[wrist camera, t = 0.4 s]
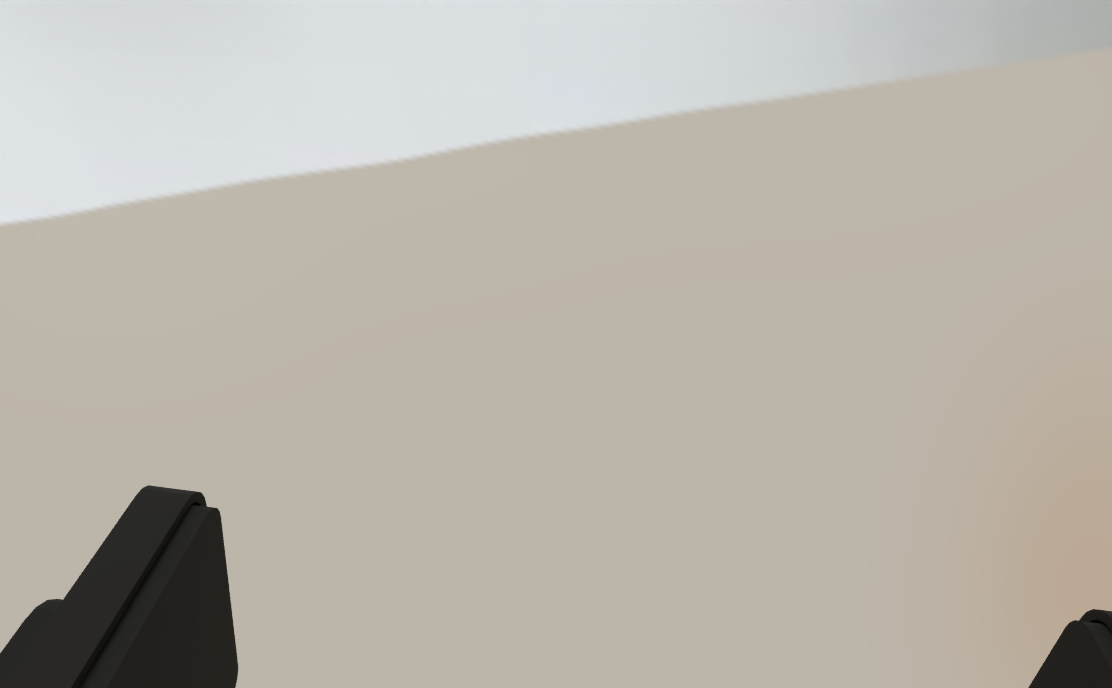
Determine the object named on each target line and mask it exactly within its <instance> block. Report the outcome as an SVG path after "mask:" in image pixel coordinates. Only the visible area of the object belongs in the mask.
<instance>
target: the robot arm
mask: <svg viewBox="0 0 1112 688" xmlns="http://www.w3.org/2000/svg"><path fill="white" fill-rule="evenodd" d="M237 675H238V662H237V653H236V644H235V635H234V627H233V618H232V610H231V601H230V592H229V584H228V575H227V566H226V557H225V550H224V540H223V532H222V523H221V516H220V512H219V510H218V509H217V508H212V507H207V506H206V501H205V497H204V496H203V495H202V493H201V492H194V491H186V490H179V489H171V488H163V487H156V486H146V487H144V488H142V489H141V490H140V492H139V493H138V494H137V495H136V496H135V498H134V499H133V501H132V502H131V503H130V505H129V506H128V508H127V509H126V511H125V512H124V514H123V515H122V516H121V518H120V519H119V521H118V522H117V524H116V525H115V526H114V528H113V529H112V531H111V532H110V534H109V535H108V537H107V538H106V539H105V541H104V542H103V544H102V545H101V546H100V548H99V549H98V551H97V552H96V554H95V555H94V557H93V558H92V559H91V561H90V562H89V564H88V565H87V566H86V568H85V569H84V571H83V572H82V574H81V575H80V576H79V578H78V579H77V581H76V582H75V584H74V585H73V586H72V588H71V589H70V591H69V592H68V594H67V595H66V597H65V598H64V600H61V599H53V600H47V601H45V602H44V603H42V604H40V605H39V606H37V607H36V608H35V609H34V610H33V611H32V613H31V614H30V615H29V616H28V617H27V618H26V619H25V620H24V622H23V623H22V624H21V626H20V627H19V629H18V630H17V632H16V633H15V634H14V636H13V637H12V638H11V640H10V641H9V643H8V644H7V645H6V647H5V648H4V649H3V651H2V652H1V653H0V688H235V687H236V682H237ZM1029 688H1112V611H1104V610H1095V609H1093V610H1090V611H1088V612H1086V613H1085V614H1084V615H1083V616H1082V618H1081V619H1080V620H1079V621H1076V620H1075V621H1072V622H1070V623H1069V624H1068V625H1067V626H1066V627H1065V629H1064V631H1063V632H1062V634H1061V636H1060V637H1059V639H1058V641H1057V642H1056V644H1055V645H1054V647H1053V649H1052V650H1051V652H1050V654H1049V655H1048V657H1047V659H1046V660H1045V662H1044V663H1043V665H1042V667H1041V668H1040V670H1039V671H1038V673H1037V675H1036V676H1035V678H1034V680H1033V681H1032V683H1031V685H1030V686H1029Z"/></svg>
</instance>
